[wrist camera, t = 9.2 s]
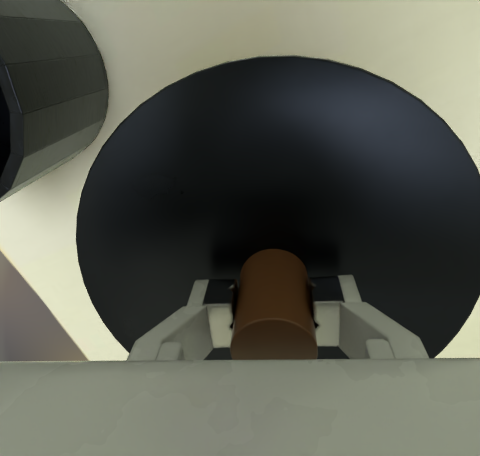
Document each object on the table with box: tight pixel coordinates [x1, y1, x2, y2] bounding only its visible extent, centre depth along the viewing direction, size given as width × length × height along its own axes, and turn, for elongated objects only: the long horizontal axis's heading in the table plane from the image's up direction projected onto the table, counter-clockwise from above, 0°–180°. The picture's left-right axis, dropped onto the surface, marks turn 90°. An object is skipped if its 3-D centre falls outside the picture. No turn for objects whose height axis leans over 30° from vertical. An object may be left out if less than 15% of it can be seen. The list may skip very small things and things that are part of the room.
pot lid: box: [76, 55, 480, 360], centre depth 13 cm, size 16×16×5 cm
